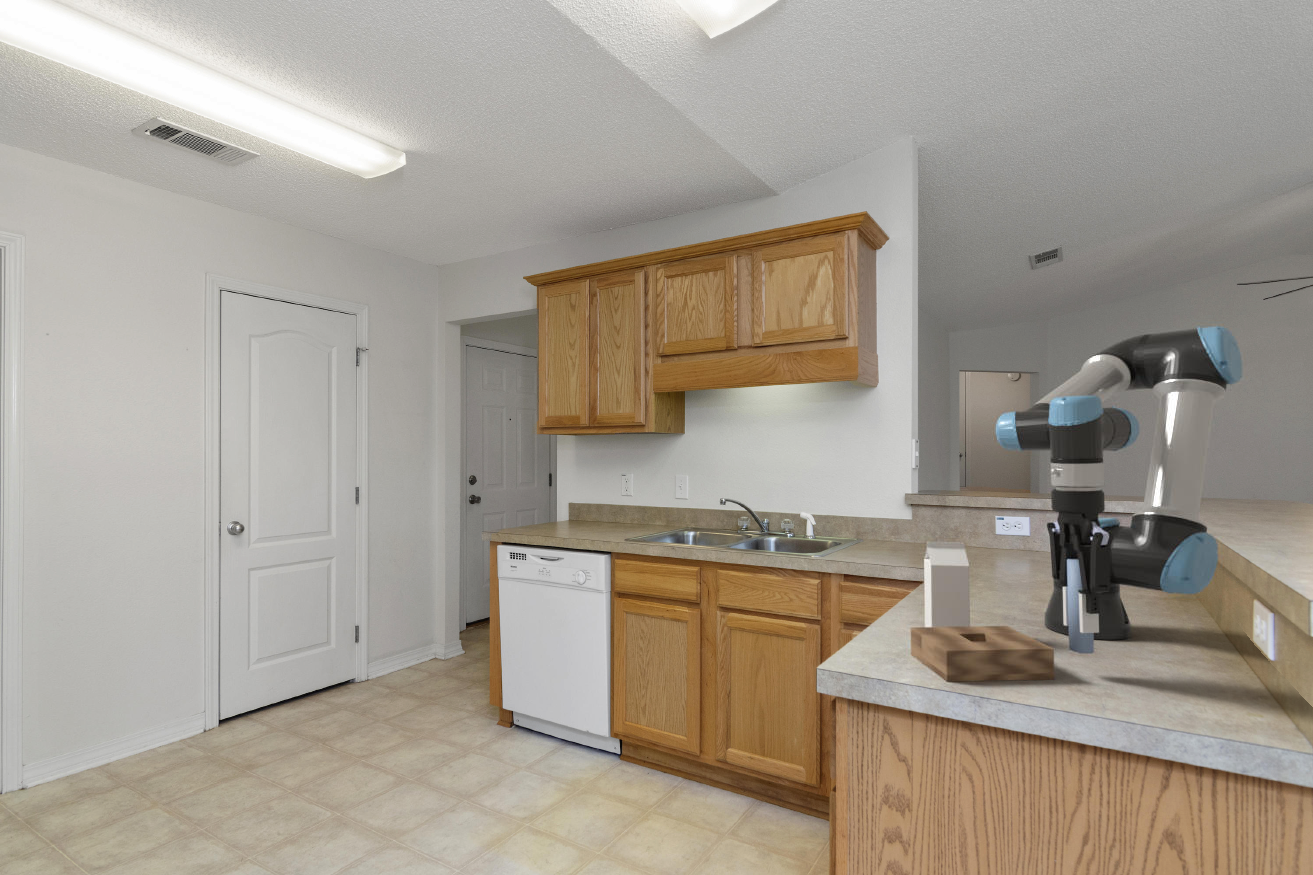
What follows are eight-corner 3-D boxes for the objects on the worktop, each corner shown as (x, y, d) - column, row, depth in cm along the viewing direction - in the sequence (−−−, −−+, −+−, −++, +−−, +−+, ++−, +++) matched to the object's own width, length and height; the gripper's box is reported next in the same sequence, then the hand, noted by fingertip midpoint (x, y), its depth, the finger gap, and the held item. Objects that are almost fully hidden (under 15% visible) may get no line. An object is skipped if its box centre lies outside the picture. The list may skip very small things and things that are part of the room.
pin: (1084, 646, 114) (1082, 558, 114) (1098, 652, 110) (1096, 561, 110) (1064, 647, 114) (1062, 558, 114) (1078, 653, 110) (1075, 562, 110)
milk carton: (970, 642, 131) (969, 545, 131) (931, 640, 132) (930, 544, 133) (961, 632, 138) (960, 540, 138) (924, 631, 139) (923, 539, 140)
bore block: (1006, 652, 124) (1006, 625, 124) (1054, 679, 110) (1053, 648, 110) (911, 654, 124) (910, 627, 124) (946, 681, 110) (946, 650, 110)
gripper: (1026, 485, 120) (1029, 616, 120) (1089, 493, 104) (1093, 644, 104) (1066, 484, 120) (1070, 614, 120) (1136, 491, 104) (1140, 642, 104)
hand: (1080, 628), depth 112 cm, fingers closed on pin, 3 cm apart
